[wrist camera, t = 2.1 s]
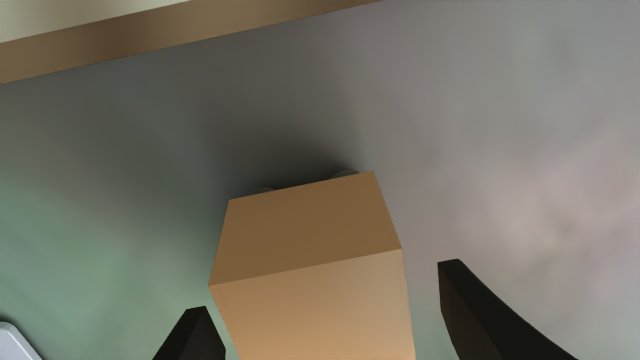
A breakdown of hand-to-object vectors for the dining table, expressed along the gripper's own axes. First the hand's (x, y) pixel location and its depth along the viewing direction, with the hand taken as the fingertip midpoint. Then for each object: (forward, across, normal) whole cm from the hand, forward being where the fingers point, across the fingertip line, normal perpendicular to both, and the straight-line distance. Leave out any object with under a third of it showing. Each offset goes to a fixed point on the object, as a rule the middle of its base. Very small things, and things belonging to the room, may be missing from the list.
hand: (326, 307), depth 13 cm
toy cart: (+4, 0, 0) cm, 4 cm away
